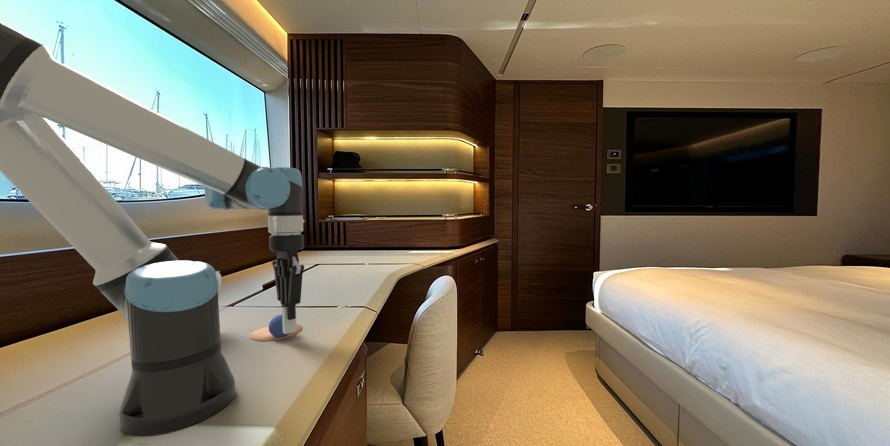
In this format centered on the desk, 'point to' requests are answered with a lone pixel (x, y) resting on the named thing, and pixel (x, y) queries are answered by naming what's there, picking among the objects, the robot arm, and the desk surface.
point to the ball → (277, 327)
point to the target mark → (265, 335)
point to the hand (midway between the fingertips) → (289, 331)
